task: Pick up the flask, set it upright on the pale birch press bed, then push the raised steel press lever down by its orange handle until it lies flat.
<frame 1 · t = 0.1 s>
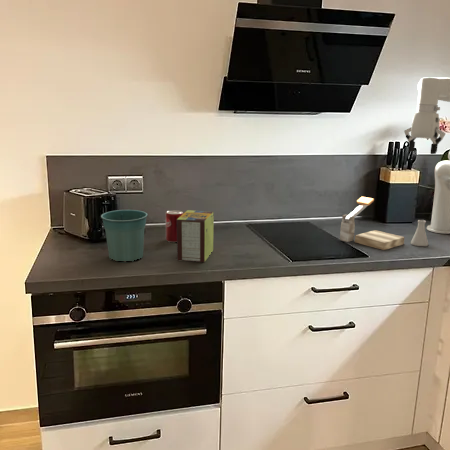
hand: (422, 152, 212), 37 cm above the worktop, tool pointing down, fingers open, 9 cm apart
lever: (357, 209, 219), point 12 cm above the worktop, hinge at -25.0°
flask: (419, 244, 214), on the worktop
soda can: (174, 241, 213), on the worktop
flower pot: (125, 258, 191), on the worktop
press: (379, 243, 215), on the worktop
protein box: (195, 256, 195), on the worktop
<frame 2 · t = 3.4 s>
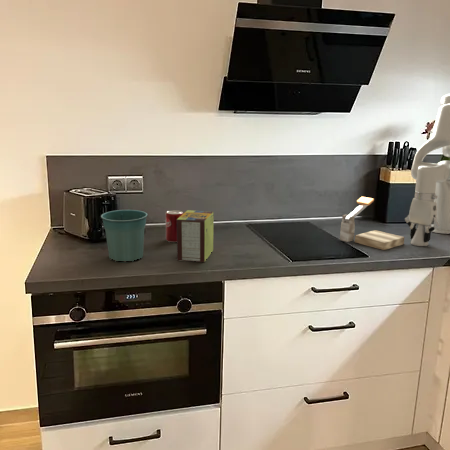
hand: (419, 239, 213), 2 cm above the worktop, tool pointing down, fingers closed on flask, 5 cm apart
flask: (419, 244, 214), on the worktop, touching gripper
everything else where it was.
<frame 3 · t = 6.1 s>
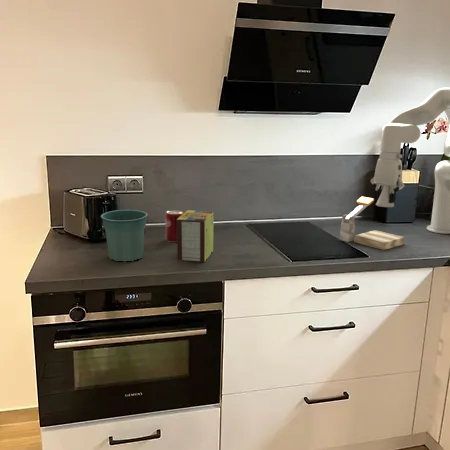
hand: (385, 201, 210), 18 cm above the worktop, tool pointing down, fingers closed on flask, 5 cm apart
flask: (384, 206, 211), point 15 cm above the worktop, touching gripper
everything else where it was.
when the fingers open (6 cm above the worktop, at t = 8.7 s): flask drops 1 cm, resting on press.
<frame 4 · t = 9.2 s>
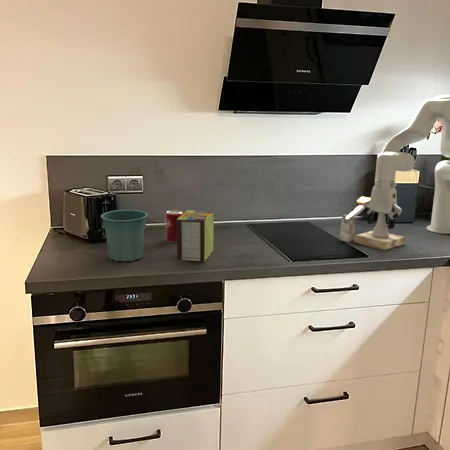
hand: (380, 226, 213), 7 cm above the worktop, tool pointing down, fingers open, 9 cm apart
flask: (379, 236, 214), point 3 cm above the worktop, touching press
everything else where it was.
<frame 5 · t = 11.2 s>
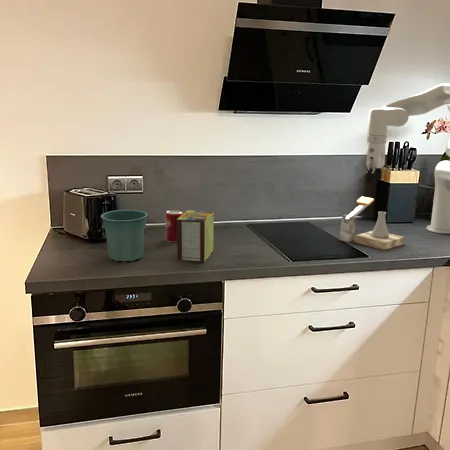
hand: (373, 181, 216), 24 cm above the worktop, tool pointing down, fingers open, 9 cm apart
nothing on the worktop moved.
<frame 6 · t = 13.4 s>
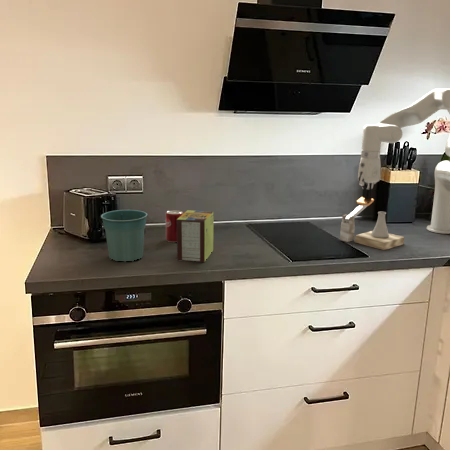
hand: (366, 198, 222), 17 cm above the worktop, tool pointing down, fingers closed
lever: (357, 209, 219), point 12 cm above the worktop, hinge at -24.6°, touching gripper
everything else where it was.
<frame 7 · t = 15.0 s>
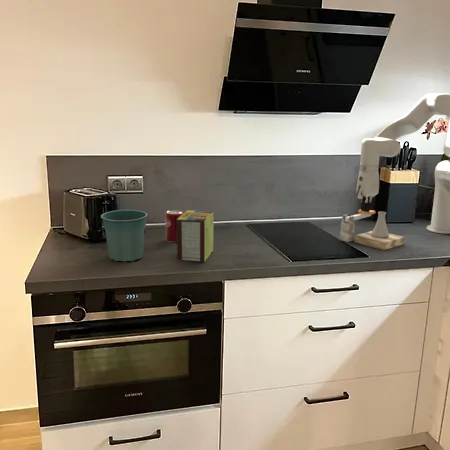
hand: (365, 211, 223), 11 cm above the worktop, tool pointing down, fingers closed
lever: (358, 215, 220), point 10 cm above the worktop, hinge at -1.3°, touching gripper
everything else where it was.
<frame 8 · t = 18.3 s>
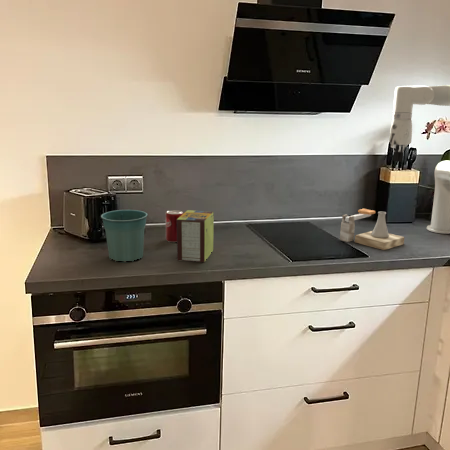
hand: (397, 161, 220), 32 cm above the worktop, tool pointing down, fingers closed
lever: (358, 215, 220), point 10 cm above the worktop, hinge at -1.3°
everything else where it was.
at the end: flask inside the target area on the press (0.1 cm from its centre), point 2.8 cm above the press's base; flask tilted 0°; lever at -1° (first picture: -25°) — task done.
